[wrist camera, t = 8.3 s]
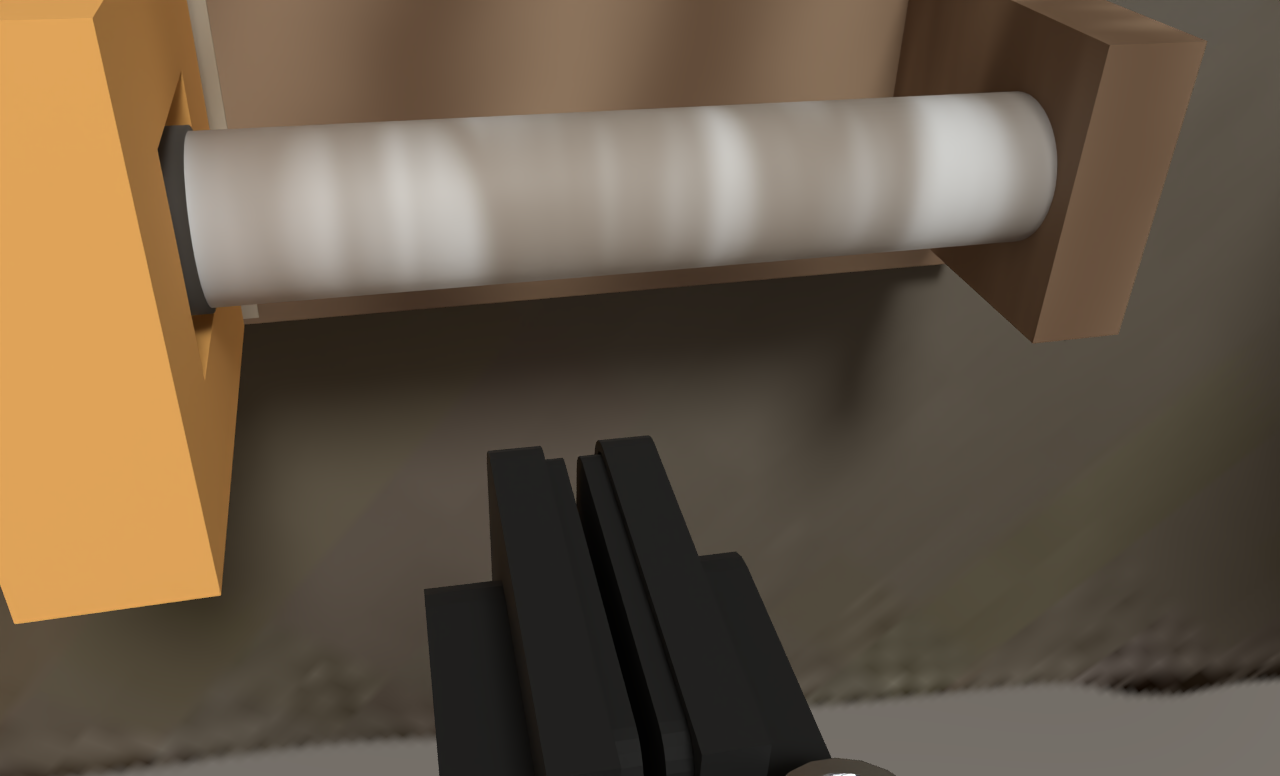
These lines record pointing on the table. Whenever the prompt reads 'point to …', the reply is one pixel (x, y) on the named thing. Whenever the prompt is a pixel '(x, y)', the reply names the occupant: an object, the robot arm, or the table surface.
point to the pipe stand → (671, 150)
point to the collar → (104, 320)
